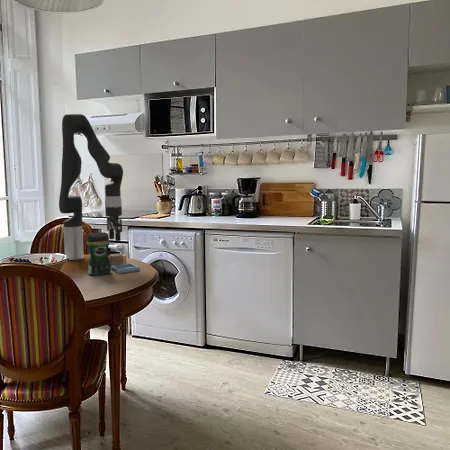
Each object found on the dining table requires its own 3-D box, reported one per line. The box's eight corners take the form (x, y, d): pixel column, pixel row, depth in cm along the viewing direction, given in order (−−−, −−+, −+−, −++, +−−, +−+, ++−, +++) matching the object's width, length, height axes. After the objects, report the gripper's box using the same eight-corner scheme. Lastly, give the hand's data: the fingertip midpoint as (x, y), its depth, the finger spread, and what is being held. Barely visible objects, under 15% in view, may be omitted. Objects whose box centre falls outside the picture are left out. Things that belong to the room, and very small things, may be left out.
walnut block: (109, 266, 206) (108, 254, 206) (119, 265, 209) (119, 253, 208) (113, 268, 202) (112, 256, 201) (123, 267, 205) (122, 255, 204)
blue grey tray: (110, 269, 200) (110, 265, 200) (131, 266, 206) (131, 263, 205) (118, 273, 192) (118, 269, 192) (139, 270, 197) (139, 266, 197)
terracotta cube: (115, 263, 215) (115, 255, 214) (123, 262, 217) (123, 254, 216) (118, 264, 211) (118, 256, 211) (126, 263, 214) (126, 255, 213)
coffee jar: (108, 270, 198) (106, 230, 196) (112, 274, 191) (110, 232, 189) (86, 273, 194) (84, 232, 191) (90, 276, 187) (88, 234, 184)
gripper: (100, 205, 206) (102, 239, 208) (110, 207, 194) (112, 242, 196) (116, 204, 210) (117, 237, 212) (126, 206, 198) (128, 241, 200)
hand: (115, 240), depth 204 cm, fingers open, 8 cm apart
